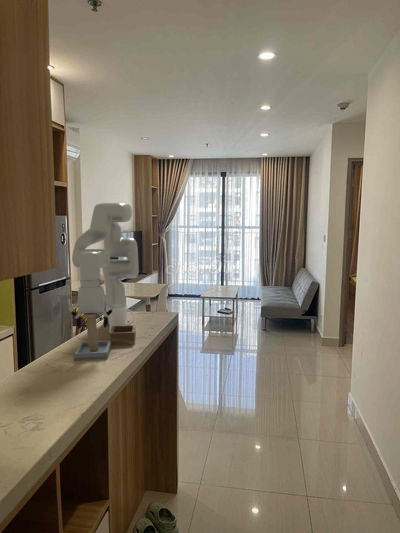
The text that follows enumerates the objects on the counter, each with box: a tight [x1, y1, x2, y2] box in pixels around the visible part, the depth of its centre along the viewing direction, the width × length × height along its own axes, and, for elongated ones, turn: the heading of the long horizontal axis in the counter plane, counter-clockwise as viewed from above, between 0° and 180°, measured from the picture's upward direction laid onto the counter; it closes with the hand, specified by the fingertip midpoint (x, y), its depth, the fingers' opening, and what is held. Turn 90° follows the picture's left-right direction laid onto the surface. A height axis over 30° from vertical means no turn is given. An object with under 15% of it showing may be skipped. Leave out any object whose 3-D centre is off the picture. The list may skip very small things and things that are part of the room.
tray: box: [73, 340, 112, 361], centre depth 152 cm, size 14×12×2 cm
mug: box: [108, 304, 135, 334], centre depth 179 cm, size 12×8×12 cm
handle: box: [83, 313, 99, 351], centre depth 152 cm, size 5×6×15 cm
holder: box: [109, 324, 137, 346], centre depth 167 cm, size 11×10×5 cm
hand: (92, 327), depth 151 cm, fingers open, 9 cm apart
